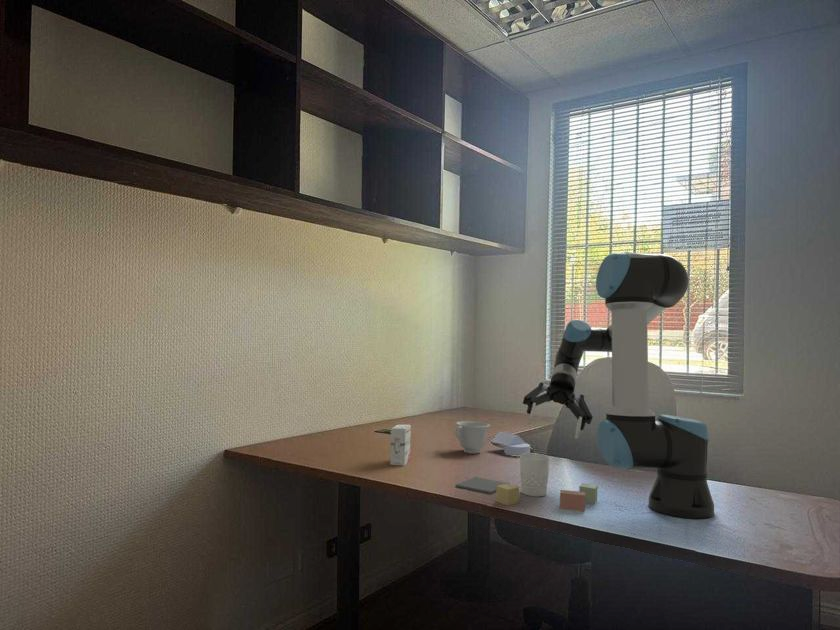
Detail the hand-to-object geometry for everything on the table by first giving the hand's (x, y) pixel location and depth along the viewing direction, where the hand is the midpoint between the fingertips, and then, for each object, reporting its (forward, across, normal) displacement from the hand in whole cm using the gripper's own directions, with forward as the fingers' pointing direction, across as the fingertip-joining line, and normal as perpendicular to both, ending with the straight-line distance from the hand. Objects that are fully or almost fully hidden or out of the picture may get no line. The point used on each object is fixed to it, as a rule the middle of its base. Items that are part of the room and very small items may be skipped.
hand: (553, 428), depth 168 cm
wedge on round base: (-23, +8, -40) cm, 47 cm away
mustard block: (+26, +7, -5) cm, 28 cm away
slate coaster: (+17, +14, -13) cm, 26 cm away
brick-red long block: (+24, -8, -1) cm, 26 cm away
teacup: (-17, +23, -40) cm, 49 cm away
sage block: (+17, -13, -5) cm, 22 cm away
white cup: (+17, +1, -9) cm, 19 cm away
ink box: (+5, +42, -31) cm, 52 cm away
